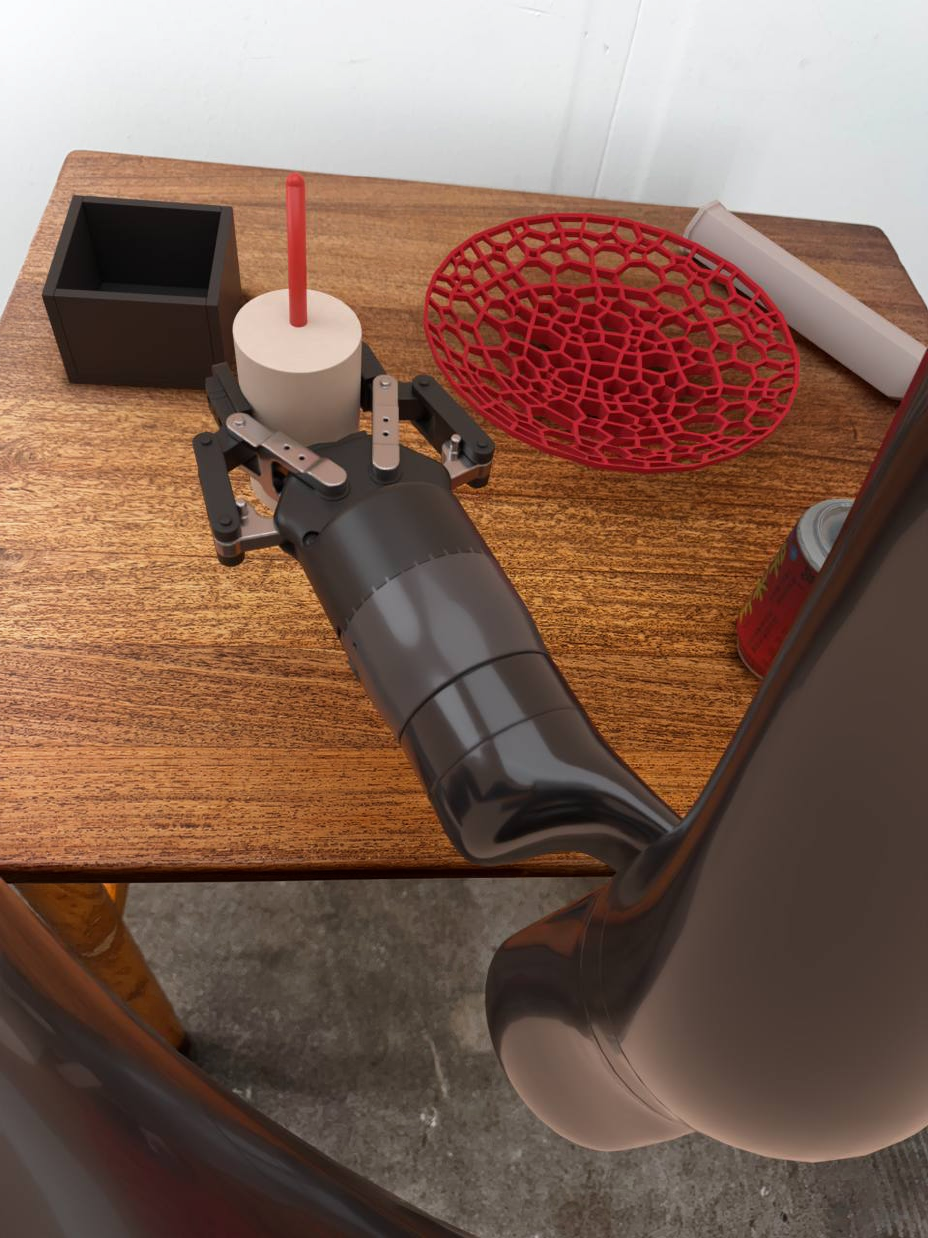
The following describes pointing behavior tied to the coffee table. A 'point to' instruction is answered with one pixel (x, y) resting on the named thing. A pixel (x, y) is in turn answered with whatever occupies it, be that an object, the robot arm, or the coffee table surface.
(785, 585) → the soda can
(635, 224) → the bowl
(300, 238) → the paper cup
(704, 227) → the tube
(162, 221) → the bin
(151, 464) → the coffee table surface
